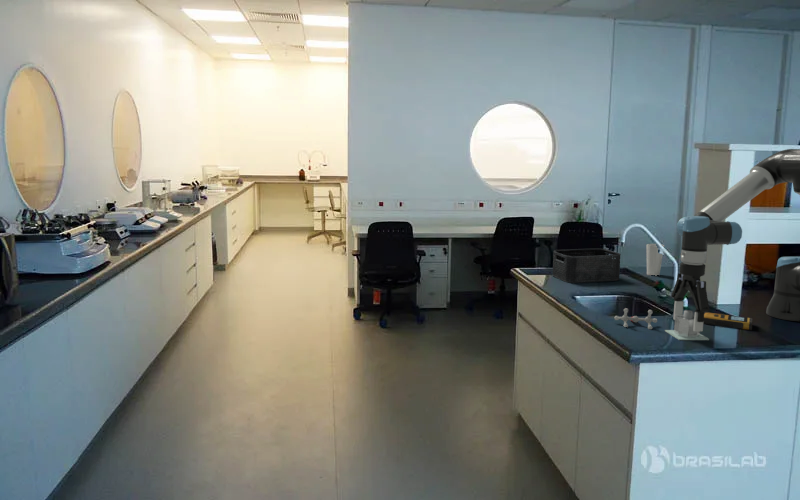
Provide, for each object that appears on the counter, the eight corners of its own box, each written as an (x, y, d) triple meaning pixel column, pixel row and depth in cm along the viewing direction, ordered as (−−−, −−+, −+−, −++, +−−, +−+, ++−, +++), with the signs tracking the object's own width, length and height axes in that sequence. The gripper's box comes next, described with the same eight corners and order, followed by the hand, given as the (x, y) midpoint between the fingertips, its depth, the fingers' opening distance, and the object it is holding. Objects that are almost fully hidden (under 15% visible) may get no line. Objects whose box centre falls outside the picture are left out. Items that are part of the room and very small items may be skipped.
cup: (645, 276, 295) (647, 245, 293) (642, 272, 303) (644, 243, 301) (663, 276, 293) (666, 246, 291) (660, 273, 301) (662, 244, 299)
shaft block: (693, 331, 202) (695, 307, 200) (709, 340, 192) (711, 315, 191) (664, 331, 202) (666, 307, 200) (679, 340, 192) (681, 315, 190)
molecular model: (612, 331, 215) (617, 330, 205) (611, 310, 216) (616, 308, 207) (654, 330, 212) (661, 329, 203) (652, 309, 214) (659, 307, 204)
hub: (691, 331, 200) (693, 314, 199) (702, 337, 193) (704, 320, 192) (670, 331, 200) (672, 314, 199) (681, 337, 193) (682, 320, 192)
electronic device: (703, 319, 218) (703, 311, 218) (751, 325, 210) (752, 316, 210) (701, 325, 211) (702, 316, 211) (751, 331, 203) (752, 322, 203)
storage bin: (568, 283, 277) (569, 255, 275) (549, 275, 296) (550, 249, 294) (622, 281, 283) (624, 254, 281) (600, 273, 302) (602, 248, 299)
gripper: (664, 256, 205) (659, 315, 208) (701, 270, 180) (695, 336, 184) (685, 256, 205) (680, 315, 209) (725, 270, 181) (719, 336, 184)
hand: (687, 325), depth 196 cm, fingers open, 13 cm apart
